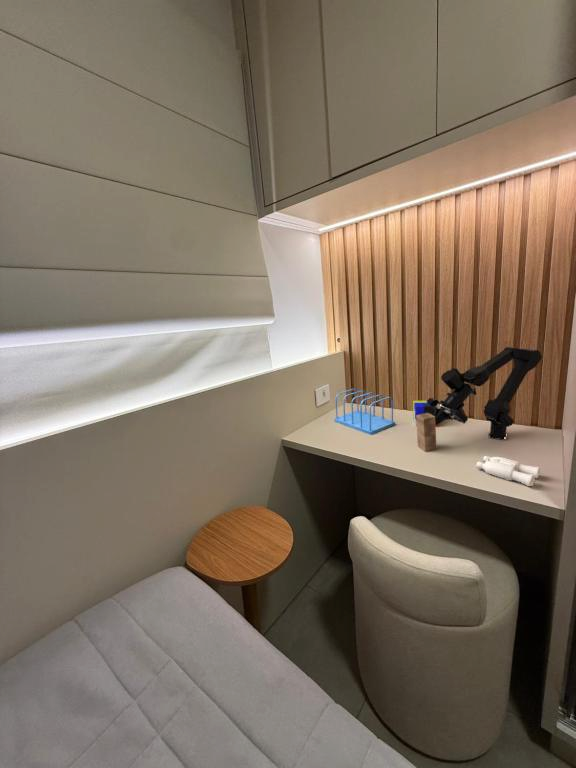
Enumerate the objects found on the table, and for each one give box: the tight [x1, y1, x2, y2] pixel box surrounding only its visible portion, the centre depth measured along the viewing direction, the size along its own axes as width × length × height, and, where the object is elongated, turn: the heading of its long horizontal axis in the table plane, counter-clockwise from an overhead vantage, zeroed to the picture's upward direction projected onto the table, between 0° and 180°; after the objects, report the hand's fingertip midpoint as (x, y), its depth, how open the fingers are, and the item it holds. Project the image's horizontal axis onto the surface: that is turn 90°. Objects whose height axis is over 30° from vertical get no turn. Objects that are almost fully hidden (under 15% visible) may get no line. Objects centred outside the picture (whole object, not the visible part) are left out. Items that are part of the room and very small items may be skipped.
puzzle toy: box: [412, 400, 440, 428], centre depth 156 cm, size 10×10×10 cm
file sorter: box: [334, 388, 396, 436], centre depth 161 cm, size 25×17×15 cm
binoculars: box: [476, 455, 541, 487], centre depth 108 cm, size 10×16×5 cm, turn 39°
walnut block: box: [416, 413, 437, 453], centre depth 129 cm, size 5×5×14 cm
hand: (432, 425), depth 129 cm, fingers closed
